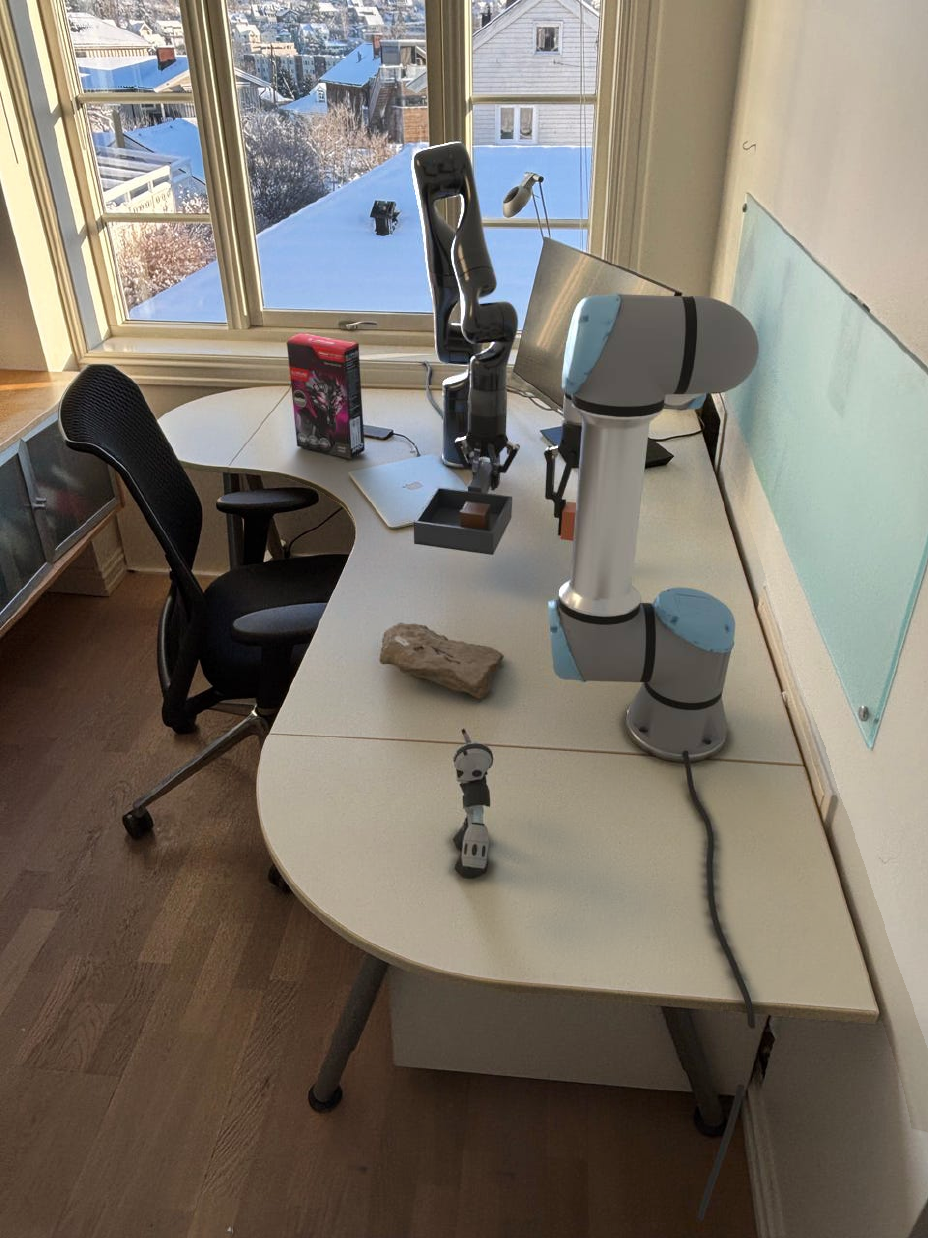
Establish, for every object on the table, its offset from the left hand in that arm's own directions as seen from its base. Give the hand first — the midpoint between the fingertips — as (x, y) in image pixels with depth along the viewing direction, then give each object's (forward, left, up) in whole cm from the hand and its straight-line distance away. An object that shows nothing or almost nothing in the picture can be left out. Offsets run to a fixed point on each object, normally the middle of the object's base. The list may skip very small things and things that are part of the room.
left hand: (485, 487), depth 189 cm
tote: (+11, -2, -1) cm, 11 cm away
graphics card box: (-41, -40, -11) cm, 59 cm away
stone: (+49, -6, -11) cm, 50 cm away
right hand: (+14, +18, -3) cm, 23 cm away
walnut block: (+20, -1, -1) cm, 20 cm away
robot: (+88, +2, -11) cm, 89 cm away
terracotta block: (+14, +18, -3) cm, 23 cm away
